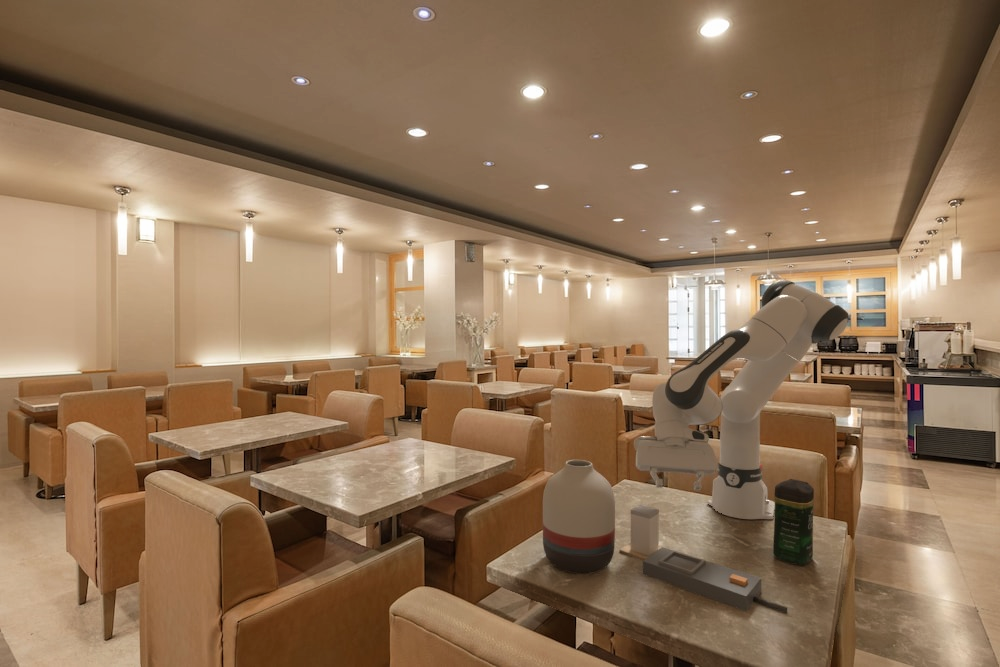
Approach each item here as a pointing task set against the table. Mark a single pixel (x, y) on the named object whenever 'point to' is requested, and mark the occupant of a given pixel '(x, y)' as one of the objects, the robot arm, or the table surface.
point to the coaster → (634, 552)
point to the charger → (644, 529)
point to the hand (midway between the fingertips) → (678, 488)
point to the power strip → (706, 579)
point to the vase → (579, 519)
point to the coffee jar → (793, 522)
